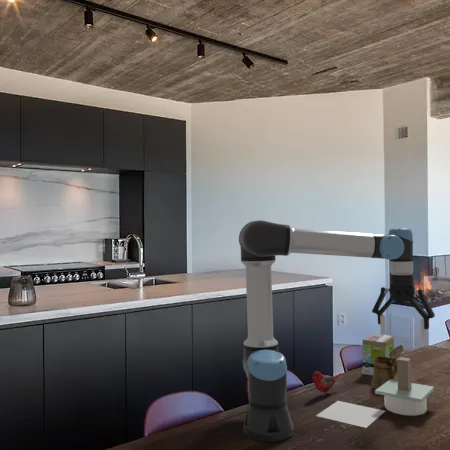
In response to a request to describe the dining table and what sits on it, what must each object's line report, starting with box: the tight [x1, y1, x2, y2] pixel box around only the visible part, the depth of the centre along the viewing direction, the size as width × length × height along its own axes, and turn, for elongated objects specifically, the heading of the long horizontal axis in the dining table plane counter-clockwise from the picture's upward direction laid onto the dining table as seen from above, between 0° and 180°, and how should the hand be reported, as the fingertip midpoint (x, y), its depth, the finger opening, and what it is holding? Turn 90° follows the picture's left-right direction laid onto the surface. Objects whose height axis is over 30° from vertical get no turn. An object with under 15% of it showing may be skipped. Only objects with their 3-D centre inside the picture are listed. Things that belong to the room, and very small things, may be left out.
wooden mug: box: [370, 344, 404, 390], centre depth 184 cm, size 9×14×18 cm, turn 30°
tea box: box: [362, 333, 395, 377], centre depth 207 cm, size 15×10×15 cm
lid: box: [374, 356, 435, 402], centre depth 163 cm, size 15×15×11 cm
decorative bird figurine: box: [311, 370, 342, 397], centre depth 178 cm, size 3×18×10 cm, turn 131°
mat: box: [315, 400, 386, 429], centre depth 158 cm, size 17×17×1 cm
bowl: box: [383, 395, 428, 417], centre depth 162 cm, size 13×13×6 cm
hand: (403, 336), depth 163 cm, fingers open, 13 cm apart
